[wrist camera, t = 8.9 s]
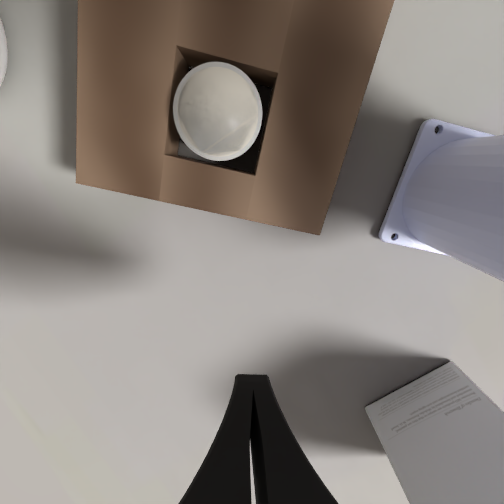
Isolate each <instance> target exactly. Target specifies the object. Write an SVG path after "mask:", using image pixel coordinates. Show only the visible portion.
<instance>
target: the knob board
mask: <svg viewBox="0 0 504 504" xmlns="http://www.w3.org/2000/svg"><path fill="white" fill-rule="evenodd" d="M393 3H394V0H78V36H77V131H76V183H78V184H83V185H87V186H92V187H97V188H101V189H106V190H111V191H115V192H120V193H125V194H129V195H134V196H139V197H143V198H148V199H153V200H157V201H162V202H167V203H171V204H176V205H180V206H185V207H190V208H194V209H199V210H204V211H208V212H213V213H218V214H222V215H227V216H232V217H236V218H241V219H246V220H250V221H255V222H260V223H264V224H269V225H274V226H278V227H283V228H287V229H292V230H297V231H301V232H306V233H311V234H315V235H320V233H321V230H322V227H323V223H324V220H325V217H326V214H327V211H328V208H329V205H330V201H331V198H332V195H333V192H334V189H335V186H336V182H337V179H338V176H339V173H340V170H341V167H342V164H343V160H344V157H345V154H346V151H347V148H348V145H349V141H350V138H351V135H352V132H353V129H354V126H355V123H356V119H357V116H358V113H359V110H360V107H361V104H362V101H363V97H364V94H365V91H366V88H367V85H368V82H369V78H370V75H371V72H372V69H373V66H374V63H375V60H376V56H377V53H378V50H379V47H380V44H381V41H382V38H383V34H384V31H385V28H386V25H387V22H388V19H389V15H390V12H391V9H392V6H393ZM207 62H224V63H228V64H231V65H233V66H235V67H237V68H239V69H240V70H241V71H243V72H244V73H245V74H246V75H247V76H248V77H249V78H250V79H251V81H252V82H253V83H255V84H259V85H263V86H267V87H270V88H272V92H271V96H270V101H269V106H268V110H267V115H266V119H265V124H264V129H263V133H262V138H261V142H260V147H259V152H258V156H257V161H256V165H255V170H254V173H251V172H247V171H243V170H238V169H234V168H230V167H225V166H221V165H217V164H213V163H208V162H204V161H200V160H195V159H191V158H187V157H182V156H178V147H179V139H180V135H179V133H178V131H177V128H176V125H175V121H174V116H173V102H174V97H175V93H176V90H177V88H178V86H179V84H180V82H181V81H182V79H183V78H184V77H185V75H186V74H187V73H188V68H189V66H191V67H197V66H199V65H201V64H204V63H207Z"/></svg>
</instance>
